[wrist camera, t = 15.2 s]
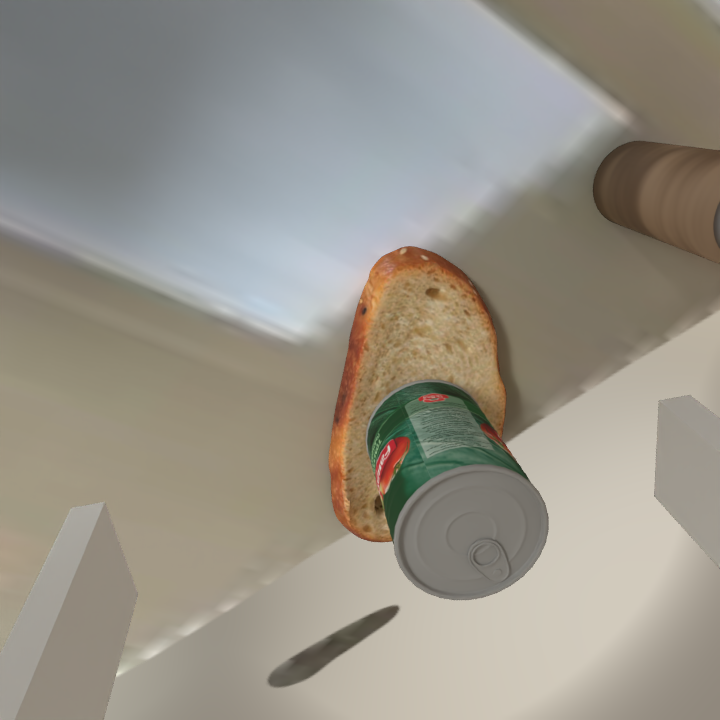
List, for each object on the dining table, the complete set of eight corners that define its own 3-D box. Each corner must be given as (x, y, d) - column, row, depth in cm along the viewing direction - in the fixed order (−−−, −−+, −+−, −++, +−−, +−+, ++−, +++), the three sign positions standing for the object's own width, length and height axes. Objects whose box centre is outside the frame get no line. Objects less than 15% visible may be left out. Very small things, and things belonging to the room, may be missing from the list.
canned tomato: (342, 421, 42) (363, 522, 32) (448, 355, 41) (505, 437, 31) (404, 507, 45) (442, 625, 34) (504, 447, 44) (574, 549, 34)
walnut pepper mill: (593, 230, 41) (739, 295, 28) (592, 148, 39) (748, 174, 26) (671, 217, 41) (854, 275, 28) (673, 134, 40) (871, 153, 26)
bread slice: (416, 217, 41) (427, 229, 37) (579, 405, 47) (601, 430, 43) (214, 402, 44) (207, 428, 41) (389, 555, 50) (396, 590, 47)
